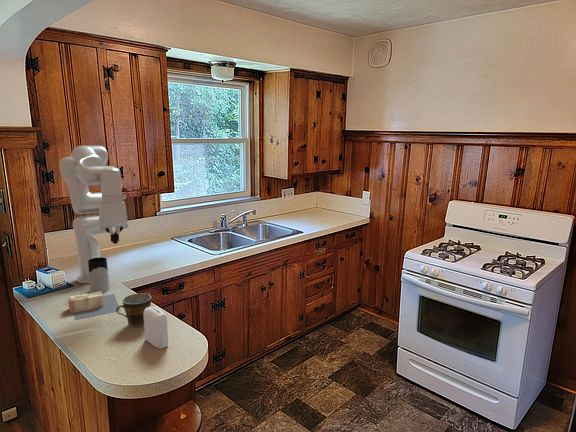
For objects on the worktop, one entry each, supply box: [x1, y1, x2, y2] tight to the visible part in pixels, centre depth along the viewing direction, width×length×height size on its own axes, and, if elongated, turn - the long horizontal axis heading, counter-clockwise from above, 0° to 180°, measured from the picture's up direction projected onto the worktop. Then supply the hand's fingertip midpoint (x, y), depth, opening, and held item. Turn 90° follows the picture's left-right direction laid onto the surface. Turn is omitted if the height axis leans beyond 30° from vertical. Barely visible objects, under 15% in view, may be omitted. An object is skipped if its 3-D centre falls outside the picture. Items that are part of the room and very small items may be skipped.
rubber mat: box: [73, 293, 121, 321], centre depth 157 cm, size 20×16×1 cm
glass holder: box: [88, 256, 111, 294], centre depth 174 cm, size 9×14×15 cm, turn 33°
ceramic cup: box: [115, 292, 152, 329], centre depth 141 cm, size 13×10×10 cm
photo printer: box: [143, 306, 169, 350], centre depth 129 cm, size 10×4×12 cm, turn 47°
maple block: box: [67, 291, 104, 314], centre depth 154 cm, size 5×5×12 cm
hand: (115, 242), depth 158 cm, fingers closed
